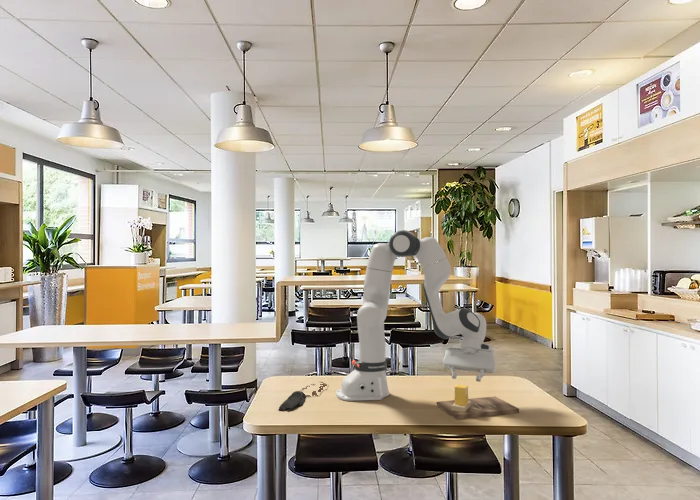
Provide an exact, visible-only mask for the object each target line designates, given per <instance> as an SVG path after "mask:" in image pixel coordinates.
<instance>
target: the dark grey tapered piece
mask: <svg viewBox="0 0 700 500" xmlns="http://www.w3.org/2000/svg"><path fill="white" fill-rule="evenodd" d="M306 398H307V397H306V395H305V394H304V393H303V392H302V391H301V390H297V391H293V392H292V393H291V394H290V395H289V396H288V398H286V399H285V400H284V401H283V402H282V403H281V404H280V405H279V408H278V411H279V412H286V411H287V412H290V411H291V412H292V411H293V410H295V409H296V408H297V407H302V406H303V405H304V404H305V402H306Z"/></svg>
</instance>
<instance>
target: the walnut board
mask: <svg viewBox="0 0 700 500" xmlns="http://www.w3.org/2000/svg"><path fill="white" fill-rule="evenodd" d="M468 401H471V406H470V407H469V408H468V409H467V410H466V412H461V411H454V410H452V405H453V404H454V403H455V399H452V400H444V401H443V400H441V401H436V404H435V405H436V407H438V408H439V409H440V410H442V411H443V412H445V414H448V415H449V416H450V417H452V418H453V419H455V420H459V419H460V420H461V419H462V420H463V419H470V418H482V417H490V416H491V417H492V416H501V415H511V414H518V413H519V414H520V408H518V407H517V406H515V405H513V404H511V403H509V402H507V401H505V400H503V399H501V398H500V397H497V396H496V395H495V396H485V397H475V398H468Z"/></svg>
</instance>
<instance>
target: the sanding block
mask: <svg viewBox="0 0 700 500" xmlns="http://www.w3.org/2000/svg"><path fill="white" fill-rule="evenodd" d="M468 399H469V385H466V384H459V383H457V384H456V385H455V386H454V400H455V403H454V404H453V405H452V410H454V411H461V412H466V410H467V409H468V408H469V407H470V406H471V401H468Z"/></svg>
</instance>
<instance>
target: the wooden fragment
mask: <svg viewBox="0 0 700 500" xmlns="http://www.w3.org/2000/svg"><path fill="white" fill-rule="evenodd" d="M320 383H323V384H320V385H323V386H320V387H319V388H320V389H319V390H318V392H321V390H323V387H325V386H327V385H328V384H327V383H325V382H324V381H320ZM308 386H309V385H306V386H305V387H306V388H304V387H301V389H302V390H303V389H307V387H308ZM309 387H310V386H309ZM321 387H322V388H321ZM323 391H324V390H323ZM314 395H315V396H317V397H319V396H318V395H317V393H316V391H313V392H312V396H314ZM306 398H312V397H311V396H310V395H306Z"/></svg>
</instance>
